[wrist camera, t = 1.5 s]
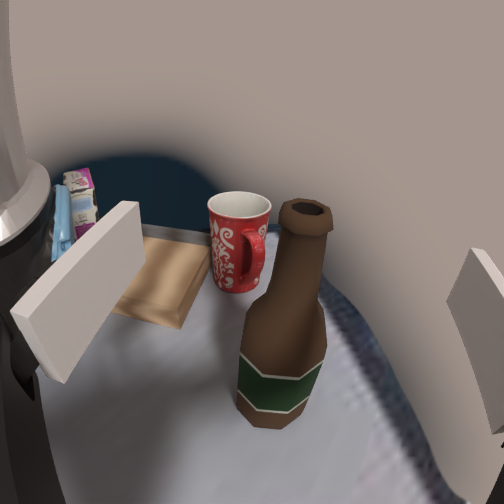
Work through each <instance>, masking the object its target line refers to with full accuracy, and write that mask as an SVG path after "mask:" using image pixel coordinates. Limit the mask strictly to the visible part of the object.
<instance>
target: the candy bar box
mask: <svg viewBox="0 0 504 504" xmlns="http://www.w3.org/2000/svg"><path fill="white" fill-rule="evenodd" d="M64 186H67V187H68V188H69V189H70V193H71V201H72V214H73V226H74V238H75V242H76V241H77V240H79V239H80V238H81V237H82V236H83V235H84V234H85V233H86V232H87V231H88V230H89V229H90V228H92V227H93V226H94V225H95V224H96V223H97V222H98V221H99V216H98V209H97V203H96V197H95V189H94V185H93V182H92V179H91V175H90V172H89V169H88V168H85V169H79V170H75V171H71V172H67V173H64Z"/></svg>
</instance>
